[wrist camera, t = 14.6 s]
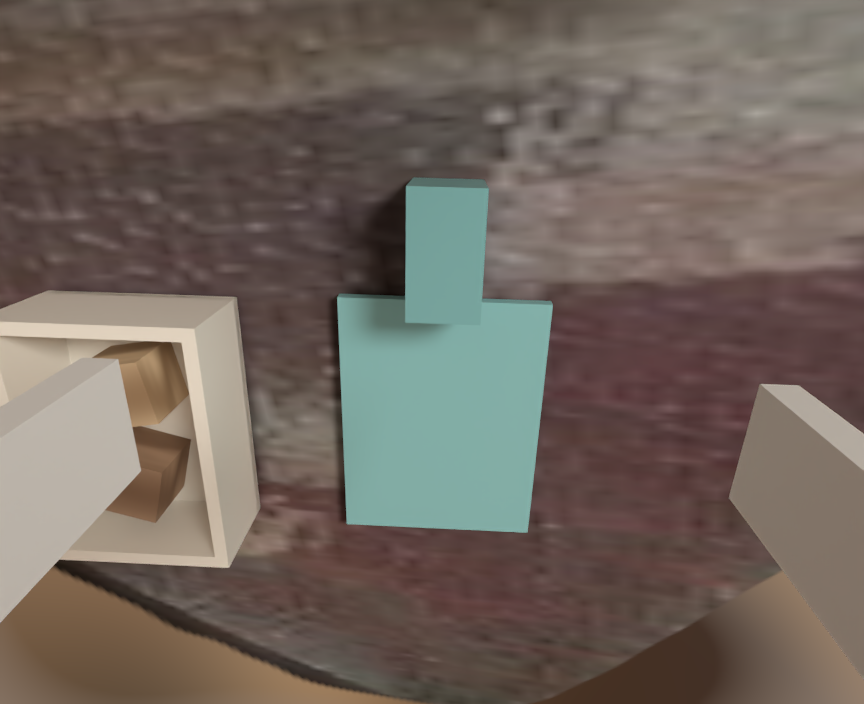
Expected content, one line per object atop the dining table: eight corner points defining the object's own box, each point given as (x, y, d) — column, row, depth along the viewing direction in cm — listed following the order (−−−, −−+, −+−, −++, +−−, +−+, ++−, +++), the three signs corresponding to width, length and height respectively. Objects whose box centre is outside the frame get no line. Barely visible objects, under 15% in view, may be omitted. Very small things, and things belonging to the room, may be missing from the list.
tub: (48, 290, 35) (-30, 320, 29) (236, 296, 34) (194, 328, 29) (99, 500, 41) (43, 558, 35) (260, 507, 40) (228, 567, 35)
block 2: (132, 423, 37) (97, 456, 34) (190, 439, 38) (161, 473, 34) (128, 471, 39) (93, 507, 35) (184, 486, 39) (155, 523, 35)
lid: (334, 175, 31) (313, 183, 27) (563, 181, 31) (582, 191, 26) (348, 516, 40) (334, 566, 36) (526, 525, 40) (535, 576, 35)
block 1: (111, 345, 35) (70, 370, 32) (169, 337, 35) (135, 362, 31) (132, 401, 37) (96, 431, 33) (189, 394, 36) (158, 423, 33)
